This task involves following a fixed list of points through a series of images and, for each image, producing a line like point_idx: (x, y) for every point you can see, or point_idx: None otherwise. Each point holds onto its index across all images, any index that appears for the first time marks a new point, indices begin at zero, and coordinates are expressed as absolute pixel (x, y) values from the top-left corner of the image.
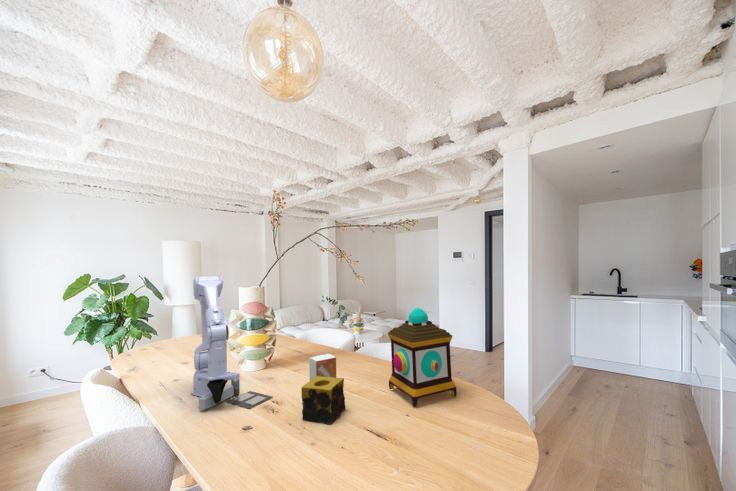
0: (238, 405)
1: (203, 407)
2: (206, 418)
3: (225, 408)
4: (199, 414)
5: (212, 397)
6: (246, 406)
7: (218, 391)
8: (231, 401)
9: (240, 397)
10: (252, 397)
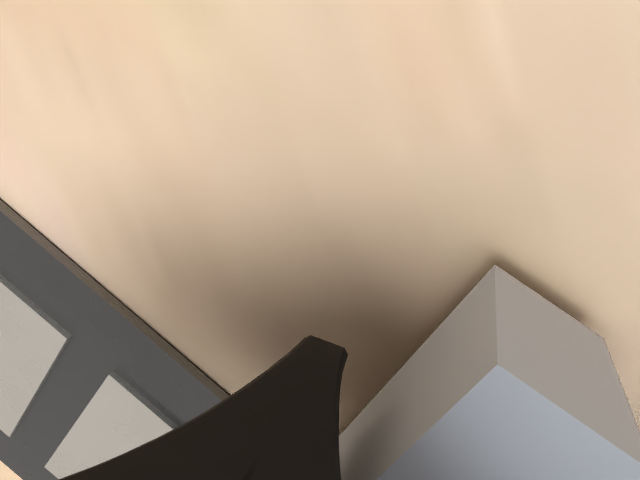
0: (108, 299)
1: (512, 291)
2: (396, 20)
3: (236, 286)
4: (562, 209)
5: (378, 461)
6: (4, 231)
7: (143, 446)
8: None
9: None
10: (51, 428)
